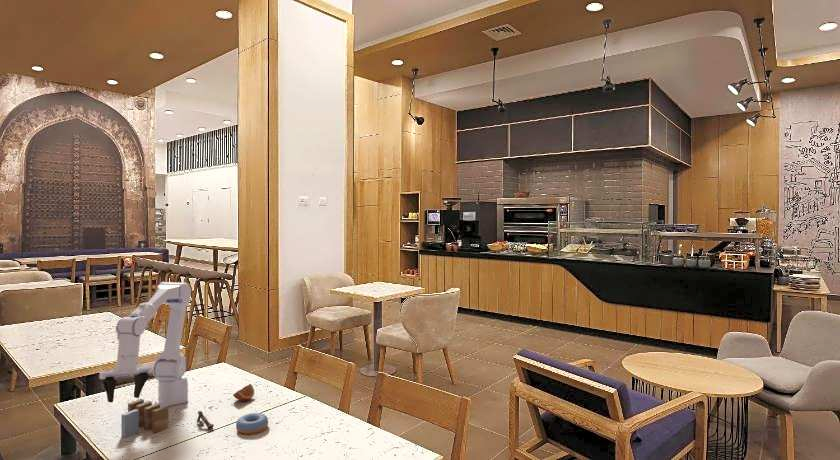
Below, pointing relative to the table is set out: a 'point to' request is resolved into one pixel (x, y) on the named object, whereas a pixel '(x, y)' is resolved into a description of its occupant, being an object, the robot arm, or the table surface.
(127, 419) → the domino
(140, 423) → the domino
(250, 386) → the fruit slice
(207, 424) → the dark angular frame
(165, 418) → the domino
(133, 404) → the domino
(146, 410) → the domino
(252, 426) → the doughnut
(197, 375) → the table surface
